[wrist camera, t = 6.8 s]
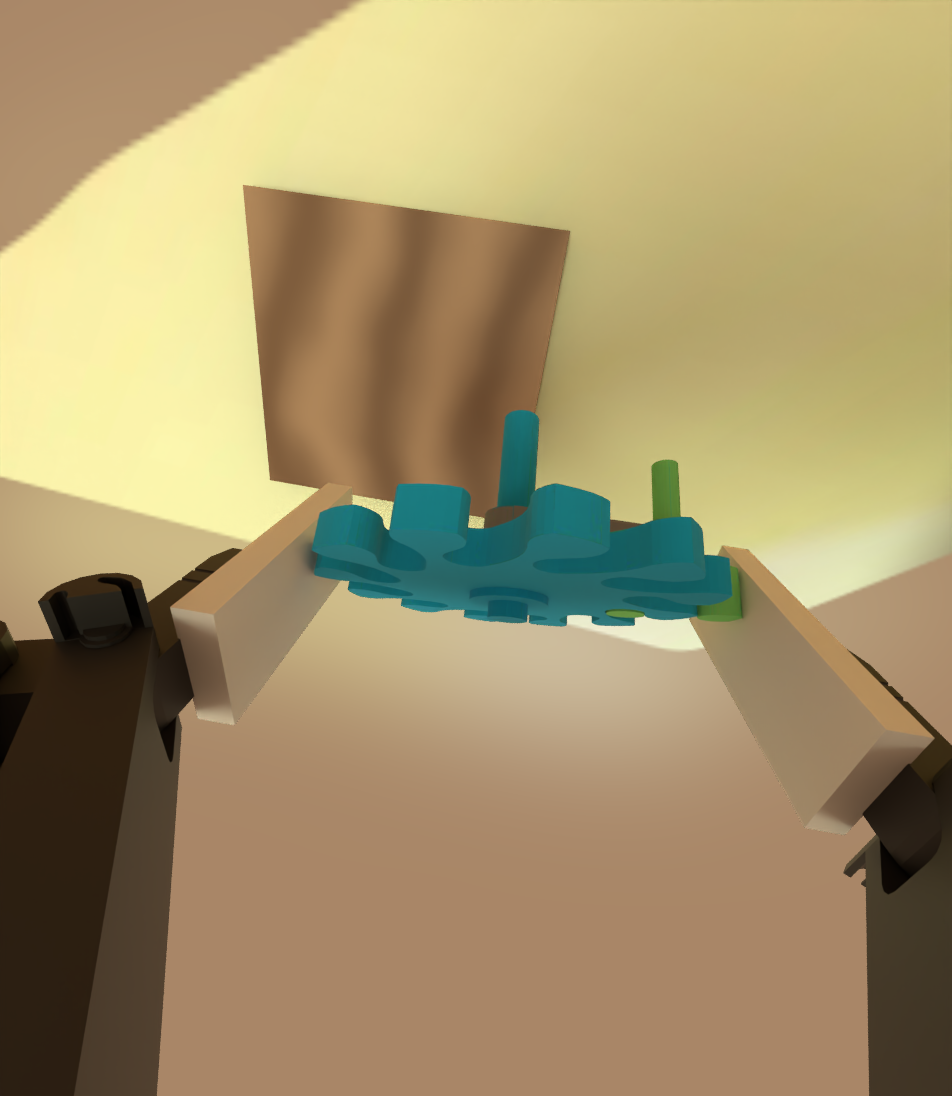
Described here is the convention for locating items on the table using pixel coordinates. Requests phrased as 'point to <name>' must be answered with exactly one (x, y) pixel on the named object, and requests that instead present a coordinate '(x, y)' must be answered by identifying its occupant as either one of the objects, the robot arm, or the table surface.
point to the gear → (530, 550)
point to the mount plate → (395, 340)
